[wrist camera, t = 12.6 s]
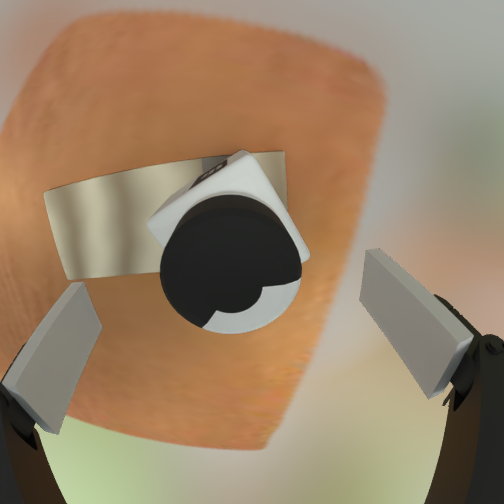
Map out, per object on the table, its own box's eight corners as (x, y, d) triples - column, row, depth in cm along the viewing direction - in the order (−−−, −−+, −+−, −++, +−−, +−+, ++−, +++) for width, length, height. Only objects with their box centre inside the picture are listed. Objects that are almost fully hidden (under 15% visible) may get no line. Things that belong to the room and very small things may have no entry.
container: (168, 196, 22) (109, 263, 11) (244, 147, 21) (264, 159, 9) (217, 264, 25) (211, 371, 14) (289, 222, 24) (343, 305, 12)
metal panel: (72, 275, 26) (67, 280, 25) (49, 189, 22) (43, 192, 21) (286, 253, 27) (288, 258, 26) (282, 150, 23) (284, 151, 22)
